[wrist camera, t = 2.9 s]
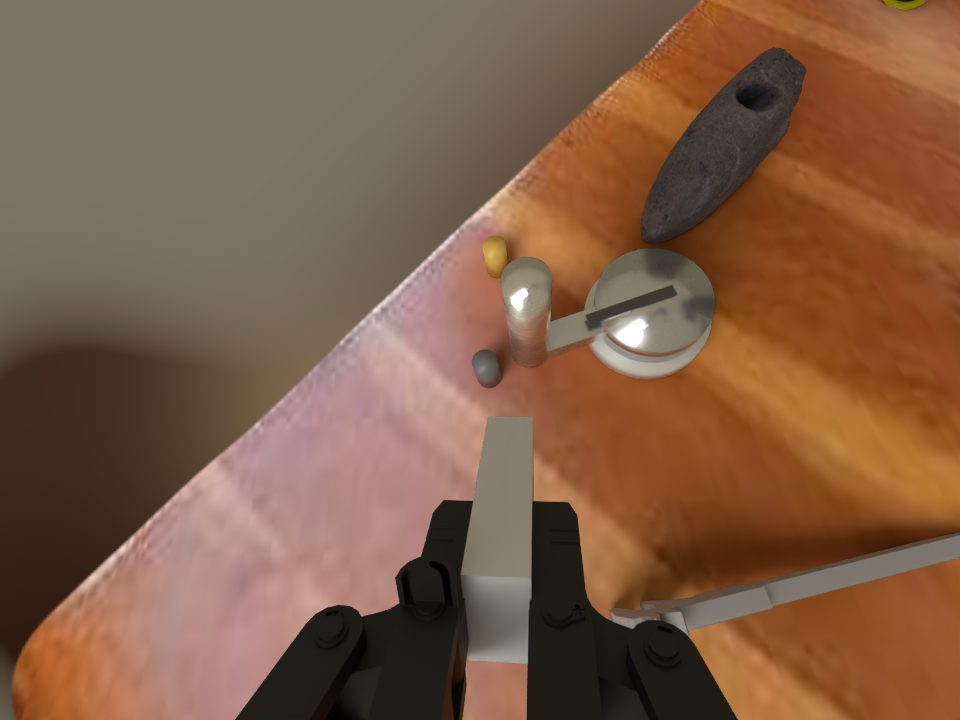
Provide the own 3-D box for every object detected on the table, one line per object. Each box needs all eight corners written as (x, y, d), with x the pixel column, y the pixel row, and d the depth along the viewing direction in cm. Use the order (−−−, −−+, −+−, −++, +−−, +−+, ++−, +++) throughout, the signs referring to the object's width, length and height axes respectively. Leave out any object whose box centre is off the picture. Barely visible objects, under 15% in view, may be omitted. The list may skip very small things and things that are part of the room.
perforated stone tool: (665, 278, 34) (694, 216, 28) (605, 237, 36) (619, 170, 30) (788, 144, 37) (840, 60, 31) (727, 113, 39) (765, 26, 32)
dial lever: (674, 251, 33) (721, 145, 24) (725, 341, 30) (799, 258, 22) (495, 313, 33) (479, 229, 24) (531, 408, 30) (527, 352, 22)
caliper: (613, 628, 28) (632, 651, 22) (607, 607, 28) (624, 624, 22) (979, 548, 27) (1101, 549, 21) (968, 527, 27) (1084, 522, 21)
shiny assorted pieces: (643, 208, 37) (652, 180, 34) (726, 355, 32) (744, 337, 29) (443, 277, 37) (434, 255, 34) (497, 435, 32) (492, 425, 29)
